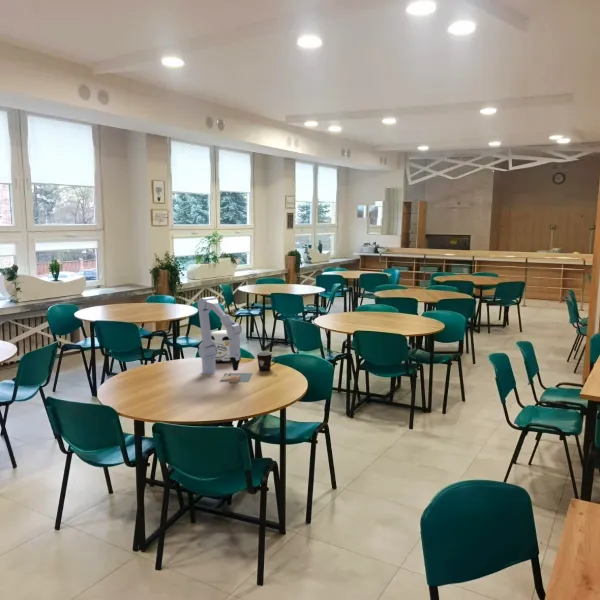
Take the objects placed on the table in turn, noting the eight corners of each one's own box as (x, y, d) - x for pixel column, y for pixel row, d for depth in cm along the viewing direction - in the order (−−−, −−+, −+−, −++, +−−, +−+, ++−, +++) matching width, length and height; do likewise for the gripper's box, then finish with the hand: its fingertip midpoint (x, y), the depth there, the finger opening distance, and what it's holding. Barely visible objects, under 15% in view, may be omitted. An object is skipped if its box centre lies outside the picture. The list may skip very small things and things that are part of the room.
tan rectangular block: (230, 375, 300) (228, 379, 293) (240, 375, 300) (237, 379, 293) (231, 379, 301) (228, 382, 294) (240, 378, 300) (238, 382, 293)
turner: (225, 373, 312) (225, 372, 311) (232, 373, 311) (232, 372, 311) (220, 380, 298) (220, 379, 298) (228, 380, 298) (228, 379, 297)
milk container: (212, 365, 333) (211, 336, 331) (209, 358, 350) (208, 330, 347) (240, 362, 338) (239, 334, 335) (236, 356, 354) (235, 329, 352)
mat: (225, 373, 313) (225, 373, 313) (252, 373, 312) (252, 373, 312) (219, 382, 295) (219, 382, 295) (248, 382, 294) (248, 382, 294)
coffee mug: (254, 370, 319) (253, 353, 318) (266, 367, 325) (265, 351, 323) (266, 374, 310) (266, 357, 309) (278, 371, 316) (277, 354, 315)
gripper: (224, 343, 304) (225, 367, 306) (229, 349, 290) (230, 374, 292) (237, 342, 306) (238, 366, 308) (243, 348, 292) (243, 373, 294)
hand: (235, 370), depth 300 cm, fingers closed
